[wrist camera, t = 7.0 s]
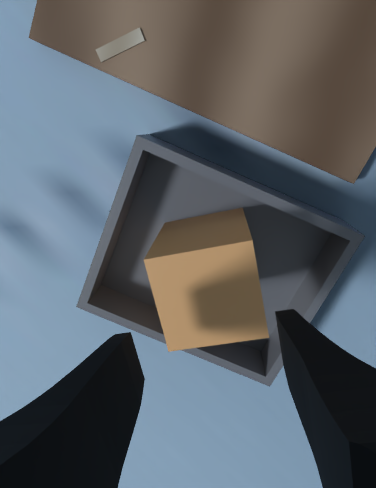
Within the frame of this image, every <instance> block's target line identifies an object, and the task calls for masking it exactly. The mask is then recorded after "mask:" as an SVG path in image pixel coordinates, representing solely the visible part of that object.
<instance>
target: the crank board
mask: <svg viewBox="0 0 376 488" xmlns="http://www.w3.org/2000/svg"><path fill="white" fill-rule="evenodd" d="M29 38H30V39H32V40H35V41H37V42H39V43H41V44H43V45H45V46H48V47H50V48H52V49H54V50H56V51H59V52H61V53H63V54H65V55H68V56H70V57H72V58H74V59H76V60H79V61H81V62H83V63H85V64H88V65H90V66H92V67H94V68H96V69H99V70H101V71H103V72H105V73H108V74H110V75H112V76H114V77H116V78H119V79H121V80H123V81H125V82H128V83H130V84H132V85H134V86H137V87H139V88H141V89H143V90H145V91H148V92H150V93H152V94H154V95H157V96H159V97H161V98H163V99H165V100H168V101H170V102H172V103H174V104H177V105H179V106H181V107H183V108H185V109H188V110H190V111H192V112H194V113H197V114H199V115H201V116H203V117H205V118H208V119H210V120H212V121H214V122H217V123H219V124H221V125H223V126H225V127H228V128H230V129H232V130H234V131H237V132H239V133H241V134H243V135H245V136H248V137H250V138H252V139H254V140H257V141H259V142H261V143H263V144H266V145H268V146H270V147H272V148H274V149H277V150H279V151H281V152H283V153H286V154H288V155H290V156H292V157H294V158H297V159H299V160H301V161H303V162H306V163H308V164H310V165H312V166H314V167H317V168H319V169H321V170H323V171H326V172H328V173H330V174H332V175H334V176H337V177H339V178H341V179H343V180H346V181H348V182H350V183H353V184H354V183H355V181H356V179H357V178H358V176H359V174H360V172H361V171H362V169H363V167H364V166H365V164H366V162H367V161H368V159H369V157H370V155H371V154H372V152H373V150H374V149H375V147H376V0H37V4H36V8H35V13H34V17H33V21H32V26H31V30H30V35H29Z"/></svg>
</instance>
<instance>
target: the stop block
mask: <svg viewBox="0 0 376 488" xmlns="http://www.w3.org/2000/svg"><path fill="white" fill-rule="evenodd" d="M144 263H145V267H146V271H147V274H148V278H149V282H150V285H151V289H152V293H153V296H154V300H155V304H156V307H157V311H158V315H159V318H160V322H161V326H162V329H163V333H164V337H165V340H166V344H167V348H168V351H176V350H184V349H191V348H198V347H205V346H213V345H220V344H227V343H234V342H242V341H249V340H256V339H264V338H269V334H268V328H267V322H266V316H265V310H264V304H263V299H262V293H261V287H260V281H259V275H258V269H257V263H256V257H255V252H254V246H253V240H252V237H251V233H250V230H249V227H248V224H247V220H246V217H245V214H244V211H243V208H238V209H233V210H227V211H222V212H217V213H212V214H207V215H202V216H197V217H191V218H186V219H181V220H176V221H171V222H166V223H164V225H163V227H162V228H161V230H160V232H159V234H158V235H157V237H156V239H155V241H154V242H153V244H152V246H151V248H150V249H149V251H148V253H147V255H146V256H145V258H144Z"/></svg>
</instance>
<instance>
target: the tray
mask: <svg viewBox="0 0 376 488" xmlns="http://www.w3.org/2000/svg"><path fill="white" fill-rule="evenodd" d="M238 208H243V211H244V214H245V217H246V220H247V224H248V227H249V230H250V233H251V237H252V240H253V246H254V252H255V257H256V263H257V269H258V275H259V281H260V287H261V293H262V299H263V304H264V310H265V316H266V322H267V328H268V334H269V338H264V339H256V340H249V341H242V342H234V343H227V344H220V345H213V346H205V347H198V348H191V349H184V350H182V351H185V352H187V353H190V354H192V355H194V356H197V357H199V358H202V359H204V360H207V361H209V362H211V363H214V364H216V365H219V366H221V367H224V368H226V369H228V370H231V371H233V372H236V373H238V374H241V375H243V376H245V377H248V378H250V379H253V380H255V381H258V382H260V383H262V384H265V385H267V386H270V385H271V384H272V382H273V381H274V379H275V378H276V376H277V374H278V373H279V371H280V370H281V368H282V366H283V360H282V354H281V347H280V341H279V334H278V328H277V321H276V315H275V311H282V310H288V309H294V310H296V311H297V312H298V313H299V314H300V315H301V316H302V317H303V318H304V319H305V320H307V321H308V322H309V323H310V322H311V321H312V319H313V318H314V316H315V314H316V313H317V311H318V310H319V308H320V307H321V305H322V303H323V302H324V300H325V299H326V297H327V295H328V294H329V292H330V291H331V289H332V288H333V286H334V284H335V283H336V281H337V280H338V278H339V277H340V275H341V273H342V272H343V270H344V269H345V267H346V266H347V264H348V262H349V261H350V259H351V258H352V256H353V254H354V253H355V251H356V250H357V248H358V247H359V245H360V243H361V242H362V240H363V239H364V237H365V236H364V235H363V234H362V233H360V232H359V231H357V230H356V229H355V228H353V227H352V226H351V225H349V224H348V223H346V222H345V221H344V220H341V219H339V218H337V217H335V216H332V215H330V214H328V213H325V212H323V211H321V210H319V209H316V208H314V207H312V206H310V205H307V204H305V203H303V202H301V201H298V200H296V199H294V198H292V197H289V196H287V195H285V194H283V193H280V192H278V191H276V190H274V189H271V188H269V187H267V186H265V185H262V184H260V183H258V182H256V181H253V180H251V179H249V178H246V177H244V176H242V175H240V174H237V173H235V172H233V171H231V170H228V169H226V168H224V167H222V166H219V165H217V164H215V163H213V162H210V161H208V160H206V159H204V158H201V157H199V156H197V155H195V154H192V153H190V152H188V151H186V150H183V149H181V148H179V147H176V146H174V145H172V144H170V143H167V142H165V141H163V140H161V139H158V138H156V137H154V136H152V135H149V134H146V135H137V136H136V139H135V142H134V145H133V148H132V150H131V153H130V156H129V159H128V162H127V165H126V167H125V170H124V173H123V176H122V179H121V182H120V184H119V187H118V190H117V193H116V196H115V199H114V201H113V204H112V207H111V210H110V213H109V216H108V218H107V221H106V224H105V227H104V230H103V233H102V235H101V238H100V241H99V244H98V247H97V250H96V253H95V255H94V258H93V261H92V264H91V267H90V270H89V272H88V275H87V278H86V281H85V284H84V287H83V289H82V292H81V295H80V298H79V301H78V304H77V306H76V307H78V308H80V309H83V310H85V311H87V312H90V313H92V314H95V315H97V316H100V317H102V318H104V319H107V320H109V321H112V322H114V323H117V324H119V325H121V326H124V327H126V328H129V329H131V330H134V331H136V332H138V333H141V334H143V335H146V336H148V337H151V338H153V339H156V340H158V341H160V342H163V343H165V344H166V340H165V337H164V333H163V329H162V326H161V322H160V318H159V315H158V311H157V307H156V304H155V300H154V296H153V293H152V289H151V285H150V282H149V278H148V274H147V271H146V267H145V263H144V258H145V256H146V255H147V253H148V251H149V249H150V248H151V246H152V244H153V242H154V241H155V239H156V237H157V235H158V234H159V232H160V230H161V228H162V227H163V225H164V223H166V222H171V221H176V220H181V219H186V218H191V217H197V216H202V215H207V214H212V213H217V212H222V211H227V210H233V209H238Z"/></svg>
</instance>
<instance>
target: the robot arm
mask: <svg viewBox="0 0 376 488" xmlns="http://www.w3.org/2000/svg"><path fill="white" fill-rule="evenodd" d="M275 315H276V321H277V328H278V334H279V341H280V347H281V354H282V360H283V365H284V369H285V373H286V377H287V381H288V385H289V389H290V392H291V395H292V398H293V400H294V403H295V406H296V409H297V411H298V414H299V417H300V419H301V422H302V425H303V427H304V430H305V433H306V436H307V438H308V441H309V444H310V446H311V449H312V452H313V455H314V458H315V461H316V464H317V467H318V471H319V475H320V479H321V482H322V486H323V488H376V368H374V367H372V366H370V365H368V364H366V363H365V362H363V361H361V360H359V359H358V358H356V357H354V356H353V355H351V354H349V353H348V352H346V351H345V350H343V349H342V348H340V347H339V346H338V345H336V344H335V343H333V342H332V341H331V340H329V339H328V338H327V337H326V336H324V335H323V334H322V333H321V332H319V331H318V330H317V329H316V328H315V327H313V326H312V325H311V324H310V323H309V322H308V321H307V320H305V319H304V318H303V317H302V316H301V315H300V314H299V313H298V312H297V311H296V310H294V309H288V310H282V311H275ZM144 380H145V379H144V375H143V372H142V369H141V365H140V362H139V359H138V355H137V352H136V349H135V345H134V342H133V339H132V335H131V332H129V333H122V334H115V335H113V336H112V337H111V338H109V339H108V340H107V341H106V342H104V343H103V344H102V345H101V346H100V347H99V348H98V349H96V350H95V351H94V352H93V353H92V354H91V355H90V356H88V357H87V358H86V359H85V360H84V361H83V362H82V363H81V364H79V365H78V366H77V367H76V368H75V369H74V370H72V371H71V372H70V373H69V374H67V375H66V376H65V377H64V378H62V379H61V380H60V381H59V382H58V383H56V384H55V385H54V386H53V387H51V388H50V389H49V390H47V391H46V392H45V393H43V394H42V395H41V396H39V397H38V398H36V399H35V400H33V401H32V402H30V403H29V404H28V405H26V406H25V407H23V408H22V409H20V410H18V411H17V412H15V413H13V414H12V415H10V416H8V417H7V418H5V419H3V420H2V421H0V488H118V484H119V479H120V475H121V471H122V467H123V464H124V461H125V457H126V454H127V451H128V447H129V444H130V441H131V437H132V434H133V431H134V427H135V424H136V420H137V417H138V413H139V410H140V406H141V400H142V394H143V387H144Z"/></svg>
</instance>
